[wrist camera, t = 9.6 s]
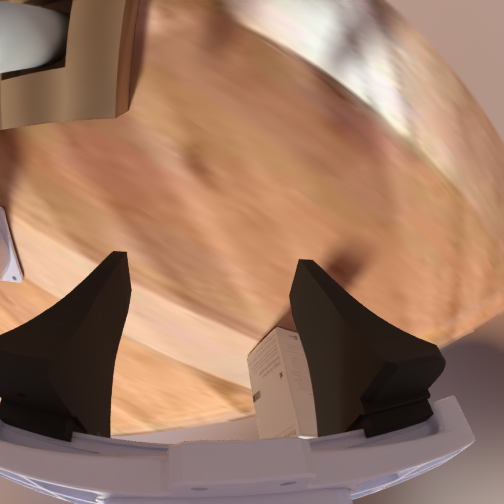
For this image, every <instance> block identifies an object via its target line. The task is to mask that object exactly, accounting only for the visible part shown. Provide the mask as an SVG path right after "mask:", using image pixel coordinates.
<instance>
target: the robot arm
mask: <svg viewBox="0 0 504 504" xmlns="http://www.w3.org/2000/svg"><path fill="white" fill-rule="evenodd" d="M23 279H24V278H23V274H22V271H21V268H20V265H19V262H18V259H17V256H16V253H15V249H14V246H13V242H12V239H11V235H10V231H9V228H8V224H7V220H6V215H5V211H4V209H3V208H2V207H1V206H0V281H1V280H3V281H12V282H22V281H23ZM131 291H132V289H131V282H130V275H129V267H128V259H127V252H120V251H113V252H112V253H111V254H110V255H108V256H107V257H106V258H105V259H104V260H103V261H102V262H101V263H100V264H99V265H98V266H97V267H96V268H95V269H94V270H93V271H92V272H91V273H90V274H89V275H88V276H87V277H86V278H85V279H84V280H83V281H82V282H81V283H80V284H79V285H78V286H77V287H75V288H74V289H73V290H72V291H71V292H70V293H69V294H68V295H66V296H65V297H64V298H63V299H61V300H60V301H59V302H57V303H56V304H55V305H53V306H52V307H50V308H49V309H47V310H46V311H44V312H43V313H41V314H40V315H38V316H37V317H35V318H33V319H32V320H30V321H28V322H26V323H25V324H23V325H21V326H19V327H17V328H15V329H13V330H11V331H8V332H6V333H4V334H1V335H0V397H1V398H2V399H1V402H0V476H2V477H4V478H6V479H8V480H11V481H13V482H16V483H18V484H21V485H23V486H26V487H28V488H31V489H33V490H36V491H39V492H41V493H44V494H47V495H50V496H53V497H56V498H59V499H62V500H65V501H69V502H72V503H76V504H353V503H352V500H353V499H356V498H360V497H362V496H366V495H369V494H372V493H374V492H377V491H380V490H383V489H385V488H388V487H391V486H393V485H396V484H398V483H401V482H403V481H406V480H408V479H410V478H413V477H415V476H417V475H420V474H422V473H424V472H426V471H429V470H431V469H433V468H435V467H437V466H439V465H441V464H443V463H445V462H446V461H448V460H449V459H451V458H452V457H454V456H455V455H457V454H458V453H459V452H461V451H462V450H464V449H465V448H466V447H468V446H469V445H471V444H472V443H474V442H475V438H474V436H473V433H472V431H471V429H470V427H469V425H468V423H467V420H466V418H465V416H464V414H463V412H462V410H461V408H460V406H459V404H458V402H457V400H456V398H455V396H450V397H447V398H444V399H441V400H438V401H436V402H434V403H432V404H431V405H430V404H429V402H428V400H427V399H429V398H430V393H429V391H428V388H429V387H430V386H431V385H432V384H433V383H434V382H435V381H436V379H437V378H438V377H439V376H440V375H441V373H442V372H443V370H444V367H445V364H446V361H445V359H444V357H443V356H442V354H441V352H440V350H439V349H438V347H437V345H435V344H432V343H430V342H427V341H425V340H422V339H419V338H417V337H415V336H413V335H411V334H408V333H406V332H404V331H402V330H401V329H399V328H397V327H395V326H393V325H392V324H390V323H388V322H387V321H385V320H383V319H382V318H380V317H379V316H377V315H376V314H374V313H373V312H371V311H370V310H369V309H367V308H366V307H364V306H363V305H362V304H361V303H359V302H358V301H357V300H356V299H355V298H353V297H352V296H351V295H350V294H349V293H348V292H346V291H345V290H344V289H343V288H342V287H341V286H340V285H339V284H338V283H337V282H335V281H334V280H333V279H332V278H331V277H330V276H329V275H328V274H327V273H326V272H325V271H324V270H323V269H322V268H321V267H320V266H319V265H318V264H317V263H315V262H314V261H313V260H305V259H299V261H298V265H297V268H296V272H295V276H294V280H293V283H292V287H291V291H290V294H289V297H290V304H291V309H292V315H293V318H294V322H295V325H296V328H297V331H298V334H299V337H300V340H301V343H302V346H303V350H304V353H305V356H306V359H307V363H308V368H309V373H310V378H311V384H312V390H313V397H314V404H315V413H316V422H317V434H318V437H316V438H309V439H302V438H299V437H277V438H265V439H250V440H218V441H205V440H204V441H202V440H201V441H184V442H181V443H177V444H174V445H173V444H158V443H146V442H136V441H127V440H119V439H112V438H110V416H111V395H112V383H113V374H114V366H115V359H116V354H117V350H118V346H119V343H120V339H121V335H122V332H123V328H124V324H125V321H126V317H127V314H128V310H129V304H130V297H131Z"/></svg>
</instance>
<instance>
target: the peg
mask: <svg viewBox="0 0 504 504" xmlns="http://www.w3.org/2000/svg"><path fill="white" fill-rule="evenodd" d="M69 22H70V15H68V14H66V13H64V12H60V11H55V10H51V9H46V8H41V7H36V6H31V5H25V4H19V3H12V2H5V1H1V2H0V73H4V72H9V71H15V70H21V69H27V68H34V67H41V66H49V65H53V64H55V63H57V62H58V61H60V60H61V59H62V58H64V57H65V56H66V49H67V39H68V30H69Z"/></svg>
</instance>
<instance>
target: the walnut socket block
mask: <svg viewBox="0 0 504 504" xmlns="http://www.w3.org/2000/svg"><path fill="white" fill-rule="evenodd" d="M1 1H5V2H12V3H19V4H25V5H31V6H36V7H41V8H46V9H51V10H55V11H60V12H64V13H66V14H68V15H70V22H69V30H68V39H67V49H66V56H65V57H64V58H62V59H61V60H60V61H58V62H57V63H55V64H53V65H49V66H41V67H34V68H27V69H21V70H15V71H9V72H4V73H0V130H3V129H9V128H16V127H22V126H29V125H37V124H45V123H54V122H64V121H76V120H91V119H112V118H117V117H118V116H120V115H122V114H124V113H125V112H127V111H128V106H129V87H130V72H131V60H132V50H133V41H134V32H135V25H136V17H137V11H138V4H139V0H0V2H1Z"/></svg>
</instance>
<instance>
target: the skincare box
mask: <svg viewBox="0 0 504 504" xmlns="http://www.w3.org/2000/svg"><path fill="white" fill-rule="evenodd" d="M247 362H248V369H249V375H250V382H251V388H252V395H253V402H254V407H255V414H256V420H257V426H258V432H259V438H260V439H265V438H277V437H299V438H302V439H309V438H316V437H318V434H317V422H316V413H315V404H314V397H313V390H312V384H311V378H310V373H309V368H308V363H307V359H306V356H305V353H304V350H303V346H302V343H301V340H300V337H299V334H298V333H296V332H293V331H290V330H287V329H283V328H280V327H276V328H275V329H273V330H272V331H271V332H270V333H269V334H268V335H267V336H266V337H265V338H264V339H263V340H262V341H261V342H260V343H259V345H258V346H257V347H256V348H255V349H254V350H253V351H252V352H251V353H250V355H249V356H248V358H247Z"/></svg>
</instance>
